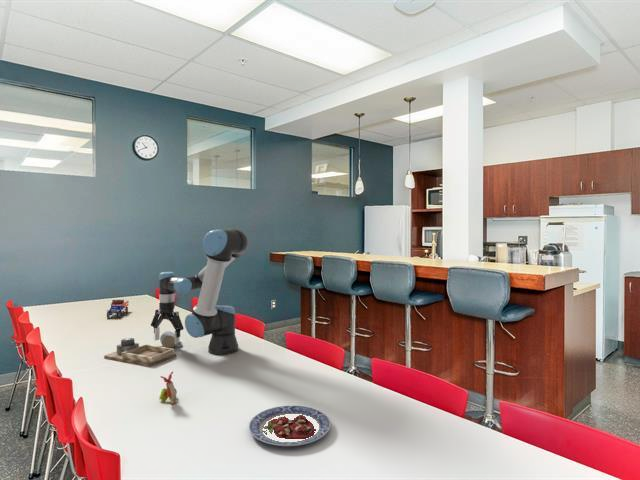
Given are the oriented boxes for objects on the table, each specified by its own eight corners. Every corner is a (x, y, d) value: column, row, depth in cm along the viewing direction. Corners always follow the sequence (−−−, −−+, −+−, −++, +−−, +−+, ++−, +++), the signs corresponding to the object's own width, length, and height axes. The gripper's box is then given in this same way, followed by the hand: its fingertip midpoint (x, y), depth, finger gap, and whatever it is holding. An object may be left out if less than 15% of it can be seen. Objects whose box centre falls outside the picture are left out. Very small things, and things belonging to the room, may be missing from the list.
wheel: (137, 350, 203) (137, 338, 203) (127, 354, 198) (127, 341, 197) (128, 349, 206) (128, 337, 205) (118, 352, 200) (118, 340, 200)
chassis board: (176, 355, 200) (176, 345, 200) (149, 366, 185) (149, 355, 185) (133, 348, 212) (132, 338, 212) (104, 358, 196) (104, 347, 196)
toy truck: (105, 319, 276) (105, 303, 276) (117, 311, 301) (117, 296, 300) (118, 319, 277) (118, 303, 277) (129, 311, 302) (129, 296, 302)
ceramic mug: (161, 350, 209) (162, 335, 209) (160, 346, 216) (160, 331, 216) (183, 348, 214) (183, 333, 214) (180, 343, 221) (181, 329, 221)
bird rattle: (182, 406, 149) (172, 390, 155) (187, 383, 145) (177, 366, 151) (165, 412, 145) (156, 394, 151) (169, 387, 141) (160, 371, 147)
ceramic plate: (328, 411, 142) (328, 402, 142) (333, 452, 117) (333, 442, 117) (254, 411, 142) (254, 403, 142) (242, 453, 116) (242, 442, 116)
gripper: (190, 302, 212) (190, 342, 213) (154, 298, 222) (154, 336, 223) (180, 305, 205) (180, 346, 206) (143, 300, 215) (143, 340, 216)
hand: (166, 341), depth 214 cm, fingers open, 13 cm apart
